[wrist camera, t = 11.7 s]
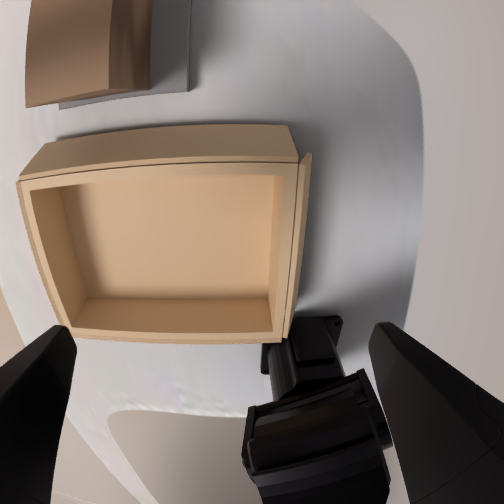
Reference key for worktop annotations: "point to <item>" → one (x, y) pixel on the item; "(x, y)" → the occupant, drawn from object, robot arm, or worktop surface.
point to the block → (86, 49)
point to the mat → (162, 52)
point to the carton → (170, 232)
